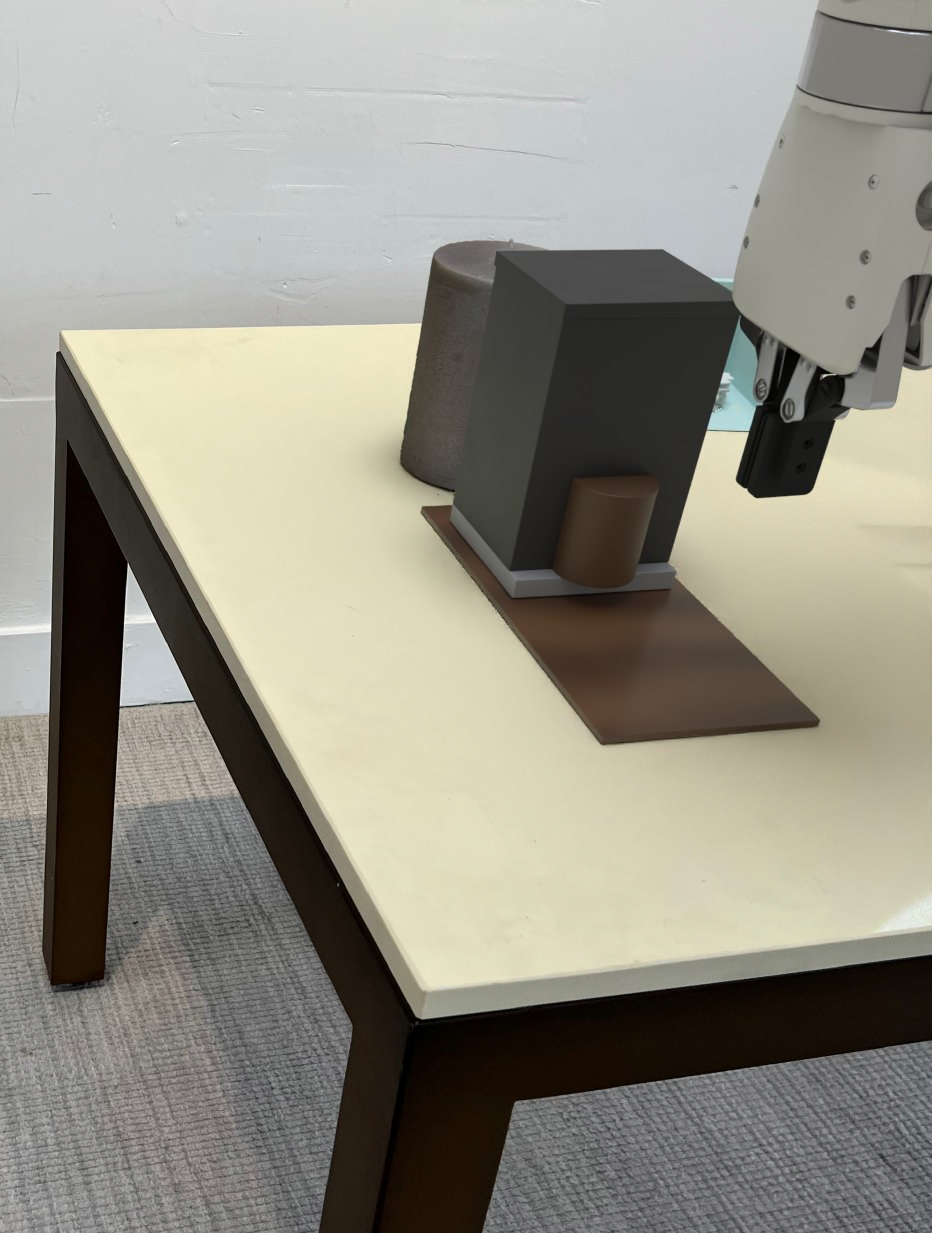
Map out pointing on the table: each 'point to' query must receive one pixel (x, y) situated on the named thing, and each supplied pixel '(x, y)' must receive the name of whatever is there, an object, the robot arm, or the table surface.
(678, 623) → the base board
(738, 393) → the right angle wall
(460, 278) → the pillar candle
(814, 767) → the table surface
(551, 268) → the coffee maker
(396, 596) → the table surface
